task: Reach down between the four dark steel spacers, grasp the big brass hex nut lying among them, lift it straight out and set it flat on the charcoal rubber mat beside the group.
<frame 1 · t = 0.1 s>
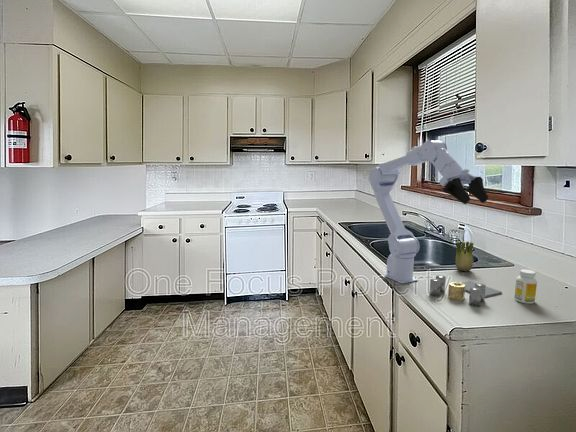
hand: (476, 201, 101), 32 cm above the countertop, tool tilted 50°, fingers open, 7 cm apart
mat: (476, 289, 120), on the countertop
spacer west: (439, 290, 119), on the countertop
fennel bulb: (463, 271, 142), on the countertop
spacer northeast: (478, 300, 111), on the countertop
nut: (456, 297, 114), on the countertop
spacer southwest: (434, 294, 116), on the countertop
supplement bottle: (524, 301, 111), on the countertop
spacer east: (474, 304, 108), on the countertop
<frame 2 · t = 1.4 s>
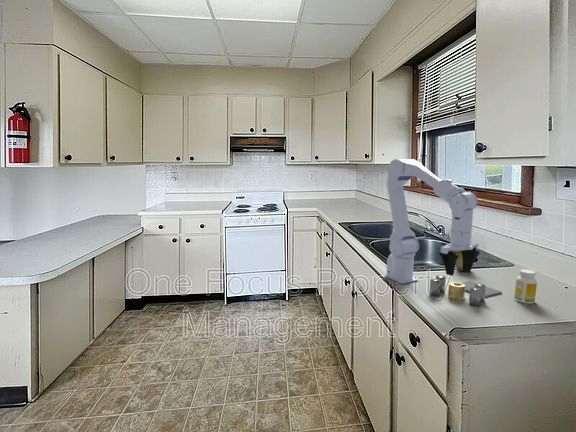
hand: (458, 273, 112), 8 cm above the countertop, tool pointing down, fingers open, 7 cm apart
nothing on the countertop moved.
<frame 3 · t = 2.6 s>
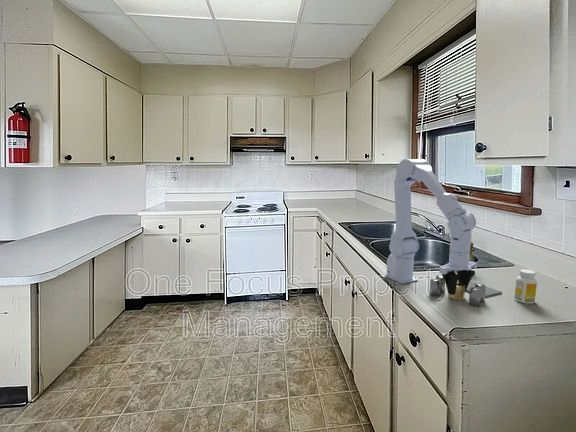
hand: (456, 292, 113), 2 cm above the countertop, tool pointing down, fingers closed on nut, 4 cm apart
nut: (456, 297, 114), on the countertop, touching gripper
everything else where it was.
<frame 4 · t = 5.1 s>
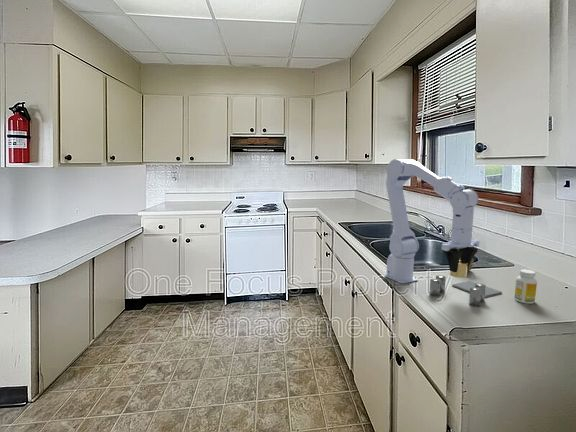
hand: (458, 270, 112), 9 cm above the countertop, tool pointing down, fingers closed on nut, 4 cm apart
nut: (458, 275, 113), point 7 cm above the countertop, touching gripper
everything else where it was.
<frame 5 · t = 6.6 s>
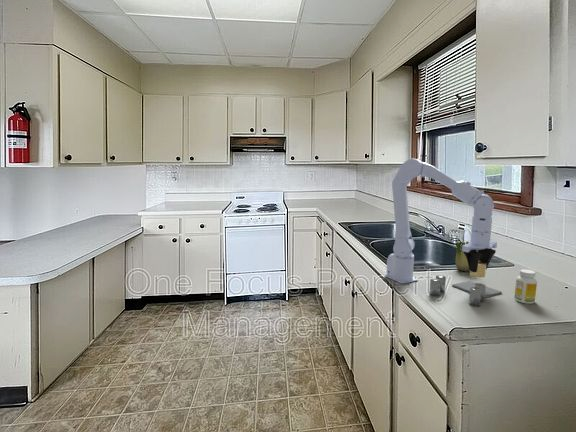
hand: (477, 270, 119), 7 cm above the countertop, tool pointing down, fingers closed on nut, 4 cm apart
nut: (477, 275, 119), point 5 cm above the countertop, touching gripper
everything else where it was.
when the fingers open (3 cm above the countertop, at t = 7.8 s): nut drops 1 cm, resting on mat.
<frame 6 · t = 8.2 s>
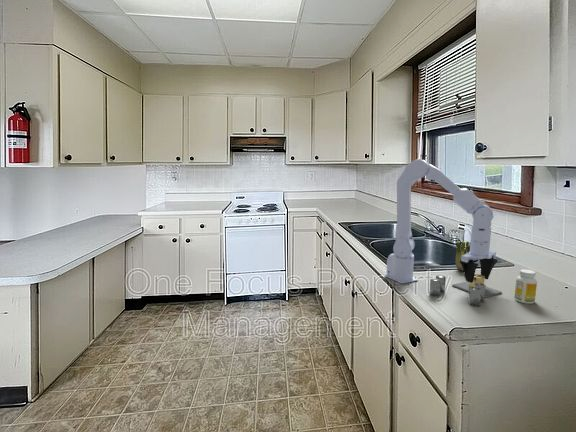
hand: (477, 280, 120), 3 cm above the countertop, tool pointing down, fingers open, 7 cm apart
nut: (476, 288, 120), point 1 cm above the countertop, touching mat
everything else where it was.
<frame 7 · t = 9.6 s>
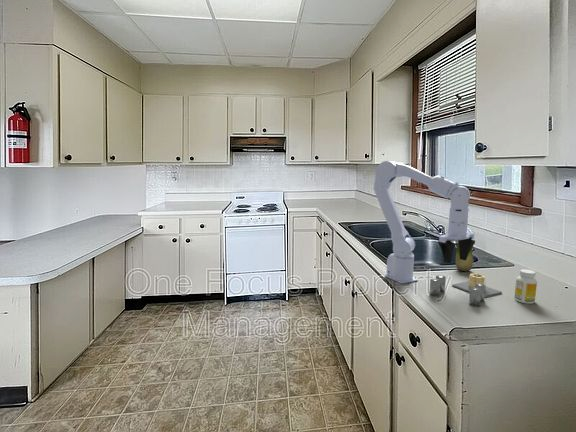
hand: (455, 261, 121), 9 cm above the countertop, tool pointing down, fingers open, 7 cm apart
nothing on the countertop moved.
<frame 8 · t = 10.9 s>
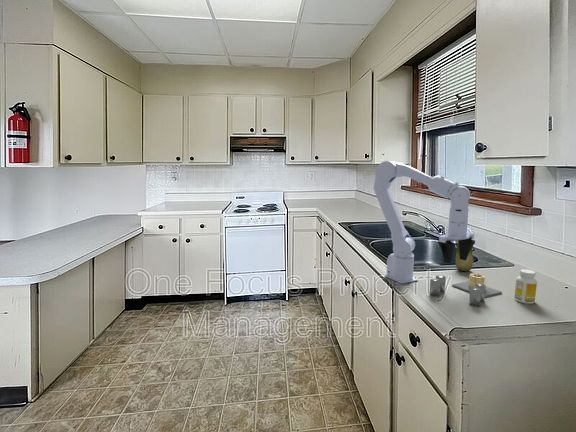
hand: (455, 261, 121), 9 cm above the countertop, tool pointing down, fingers open, 7 cm apart
nothing on the countertop moved.
at the end: nut inside the target area on the mat (0.0 cm from its centre), point 0.6 cm above the mat's base; nut tilted 0°; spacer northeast moved 0.0 cm from its start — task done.
